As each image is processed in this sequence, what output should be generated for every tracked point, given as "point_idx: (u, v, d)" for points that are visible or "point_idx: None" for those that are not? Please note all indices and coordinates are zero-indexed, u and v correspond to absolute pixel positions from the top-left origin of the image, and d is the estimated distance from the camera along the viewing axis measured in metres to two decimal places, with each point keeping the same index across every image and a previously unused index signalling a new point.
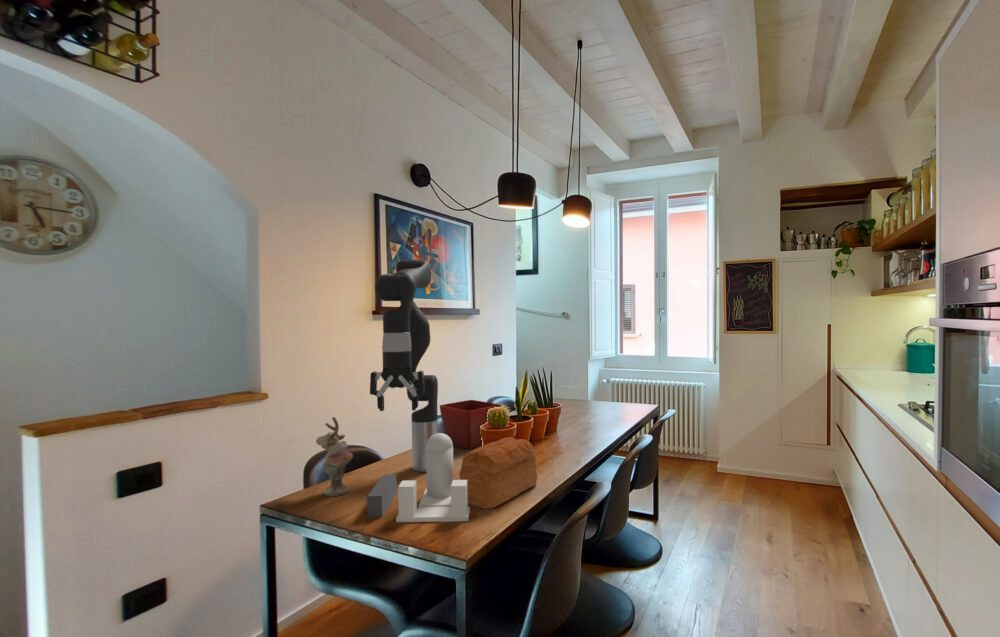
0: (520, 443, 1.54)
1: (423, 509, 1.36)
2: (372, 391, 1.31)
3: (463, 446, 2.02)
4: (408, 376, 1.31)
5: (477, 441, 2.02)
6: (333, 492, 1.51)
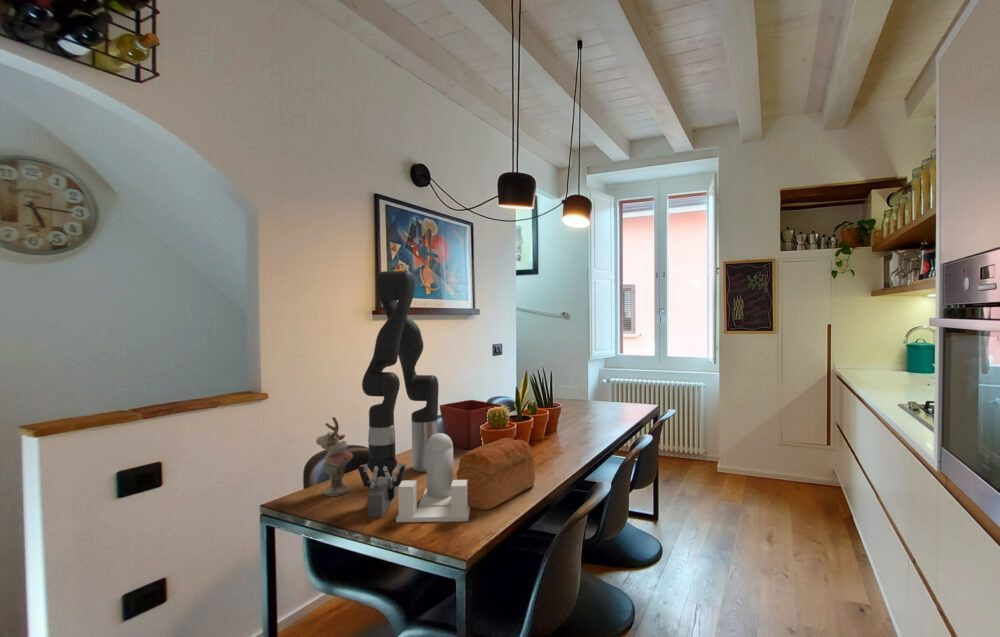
0: (518, 444, 1.54)
1: (423, 509, 1.36)
2: (366, 483, 1.42)
3: (463, 446, 2.02)
4: (391, 466, 1.42)
5: (477, 441, 2.02)
6: (333, 492, 1.51)
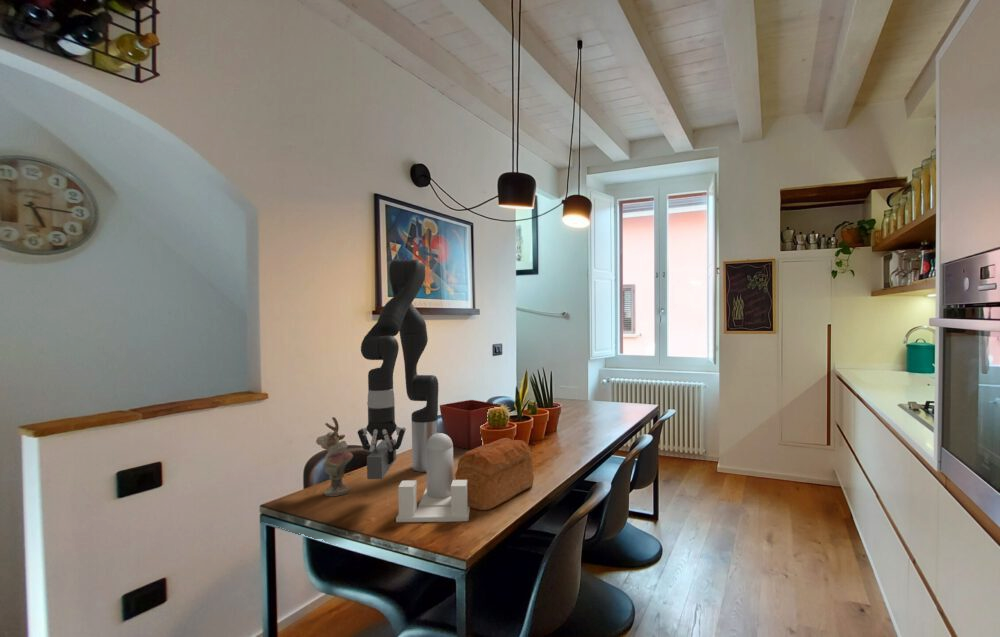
0: (516, 444, 1.53)
1: (423, 509, 1.36)
2: (365, 446, 1.42)
3: (463, 446, 2.02)
4: (391, 429, 1.42)
5: (477, 441, 2.02)
6: (333, 492, 1.51)
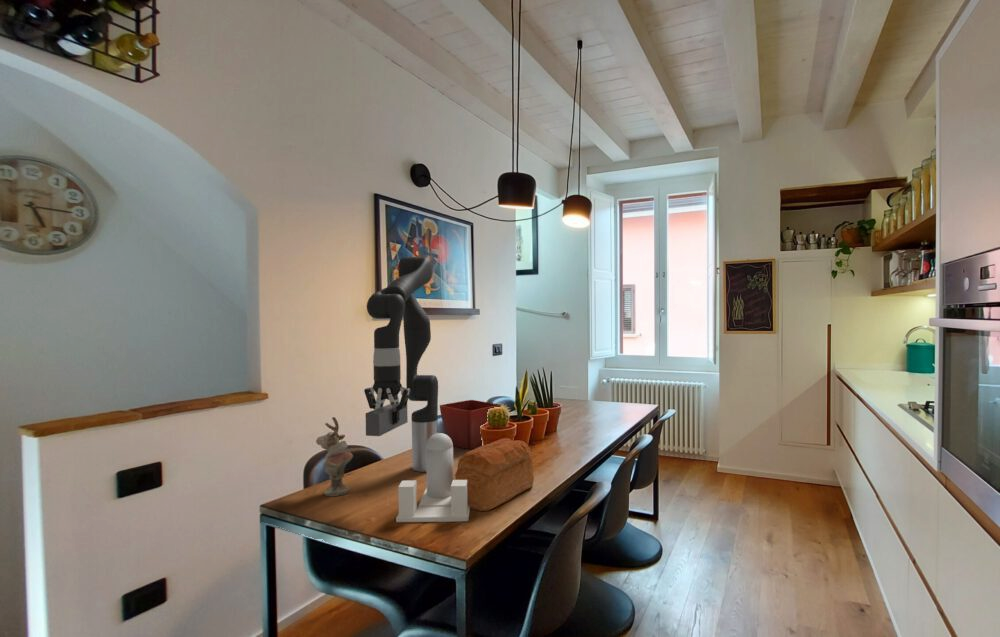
0: (516, 444, 1.53)
1: (423, 509, 1.36)
2: (371, 405, 1.41)
3: (463, 446, 2.02)
4: (395, 389, 1.40)
5: (477, 441, 2.02)
6: (333, 492, 1.51)
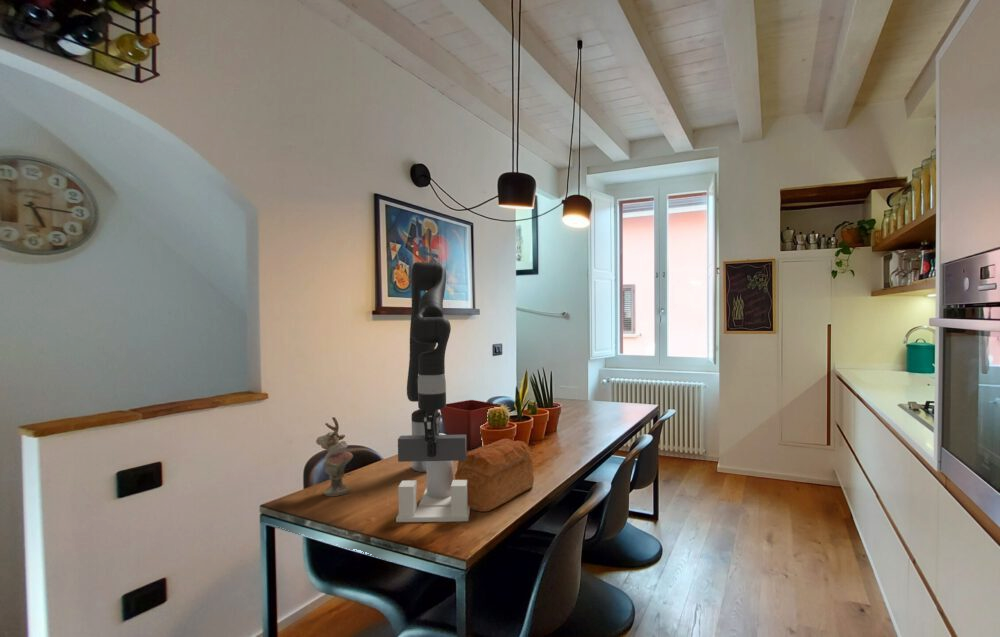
0: (517, 445, 1.52)
1: (423, 509, 1.36)
2: None
3: None
4: None
5: (477, 441, 2.02)
6: (333, 492, 1.51)
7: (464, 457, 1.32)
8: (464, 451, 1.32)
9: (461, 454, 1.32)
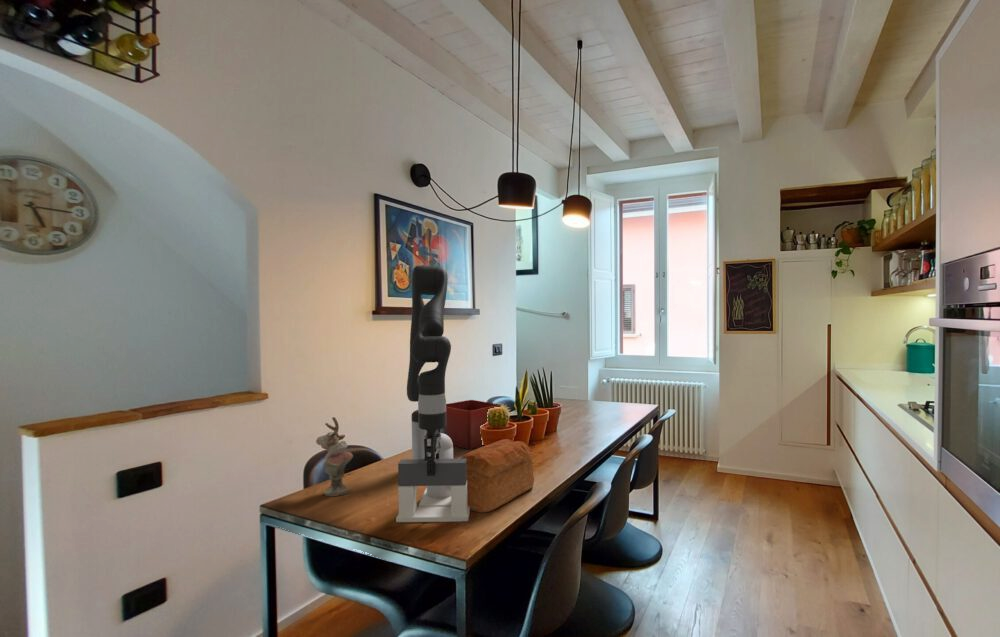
0: (517, 445, 1.52)
1: (423, 509, 1.36)
2: None
3: (463, 446, 2.02)
4: None
5: (477, 441, 2.02)
6: (333, 492, 1.51)
7: (464, 482, 1.32)
8: (464, 476, 1.32)
9: (461, 479, 1.32)
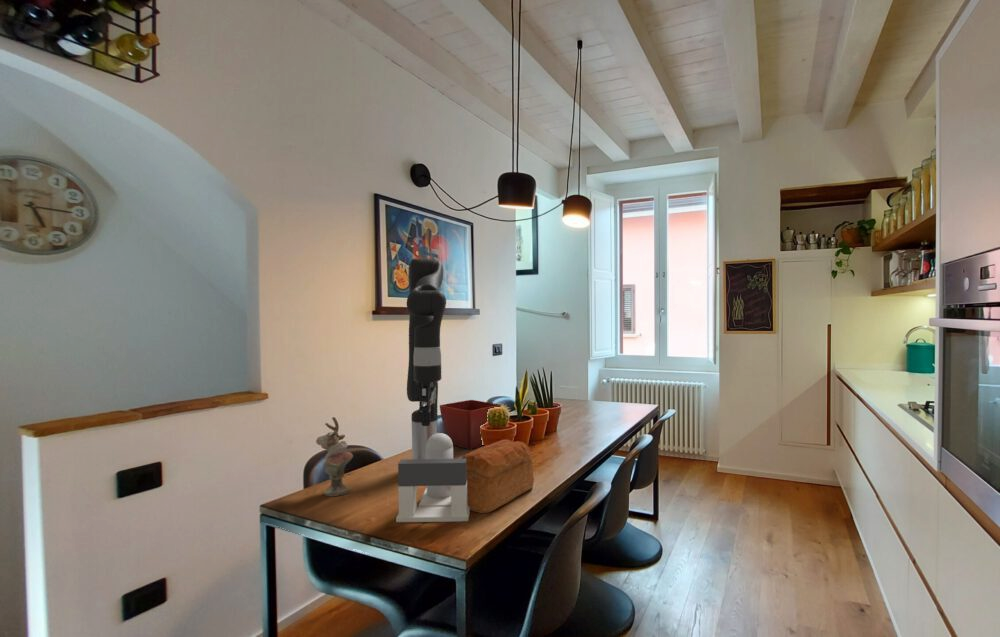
0: (516, 445, 1.51)
1: (423, 509, 1.36)
2: None
3: (463, 446, 2.02)
4: None
5: (477, 441, 2.02)
6: (333, 492, 1.51)
7: (464, 482, 1.32)
8: (464, 476, 1.32)
9: (461, 479, 1.32)
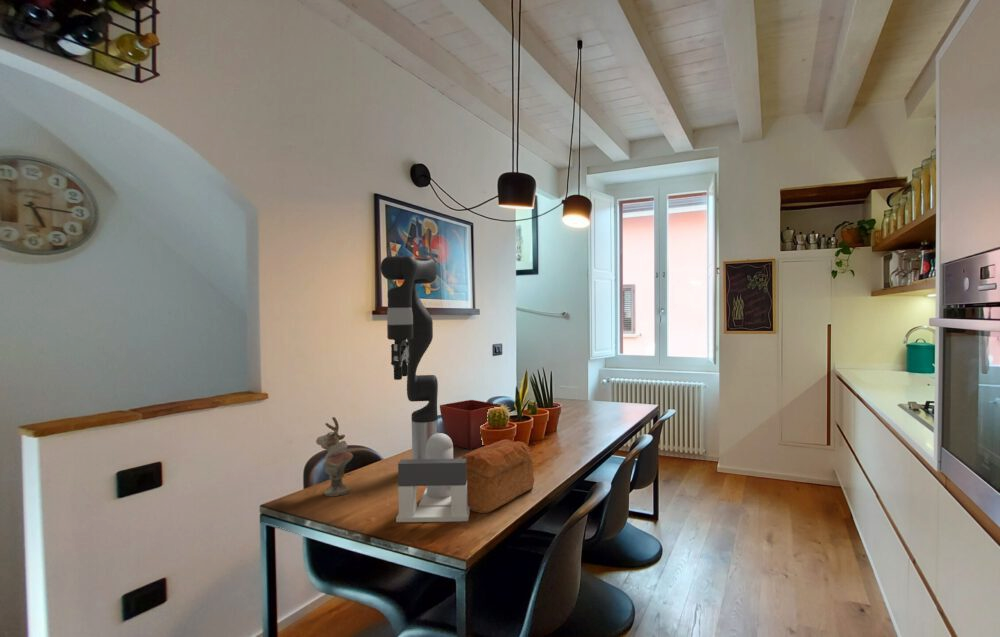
0: (517, 445, 1.51)
1: (423, 509, 1.36)
2: None
3: (463, 446, 2.02)
4: None
5: (477, 441, 2.02)
6: (333, 492, 1.51)
7: (464, 482, 1.32)
8: (464, 476, 1.32)
9: (461, 479, 1.32)
